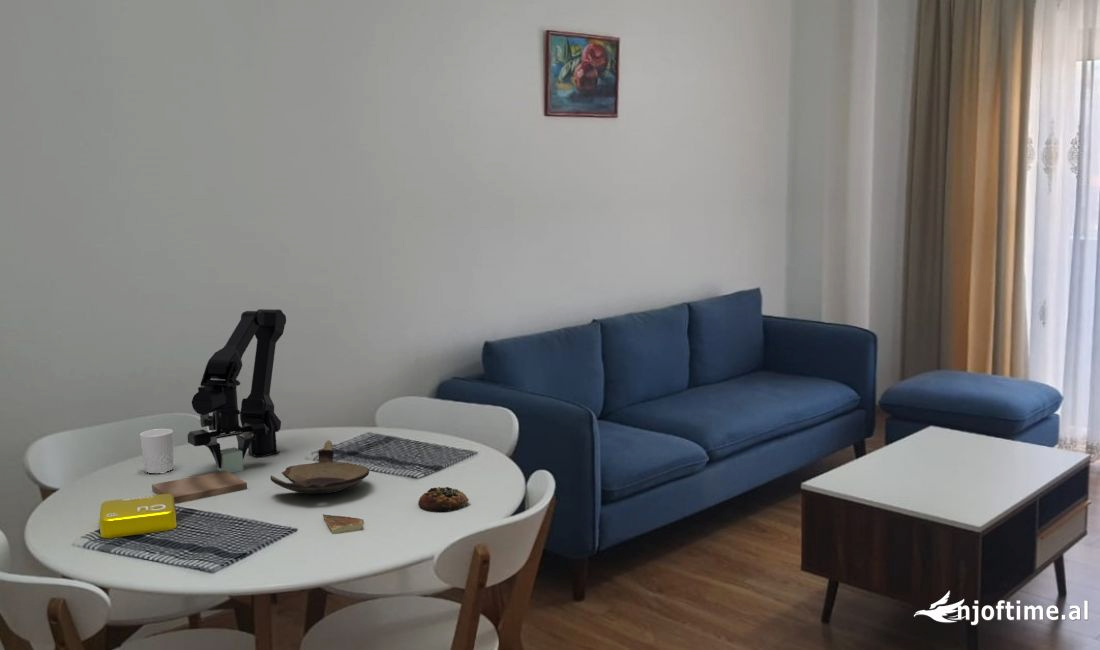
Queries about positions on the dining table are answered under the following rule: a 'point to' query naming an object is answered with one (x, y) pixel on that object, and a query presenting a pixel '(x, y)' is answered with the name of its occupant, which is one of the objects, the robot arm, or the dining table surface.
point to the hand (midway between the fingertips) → (229, 466)
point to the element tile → (137, 516)
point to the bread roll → (442, 499)
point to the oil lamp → (322, 474)
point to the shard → (343, 523)
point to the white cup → (157, 450)
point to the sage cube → (231, 460)
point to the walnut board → (200, 486)
